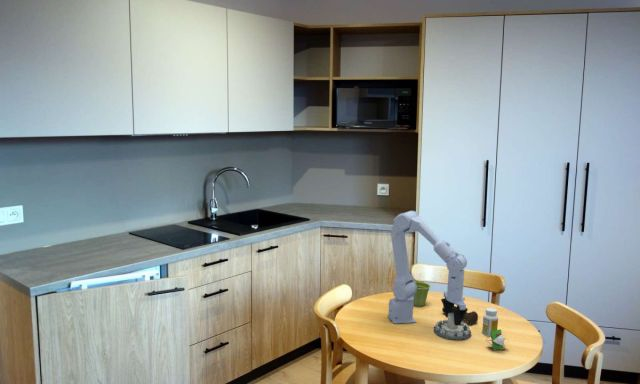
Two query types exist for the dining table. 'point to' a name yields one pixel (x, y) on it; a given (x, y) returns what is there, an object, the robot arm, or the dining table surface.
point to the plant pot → (421, 293)
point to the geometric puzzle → (496, 339)
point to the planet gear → (451, 325)
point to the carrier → (450, 335)
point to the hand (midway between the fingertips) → (452, 321)
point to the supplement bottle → (490, 321)
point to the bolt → (468, 317)
